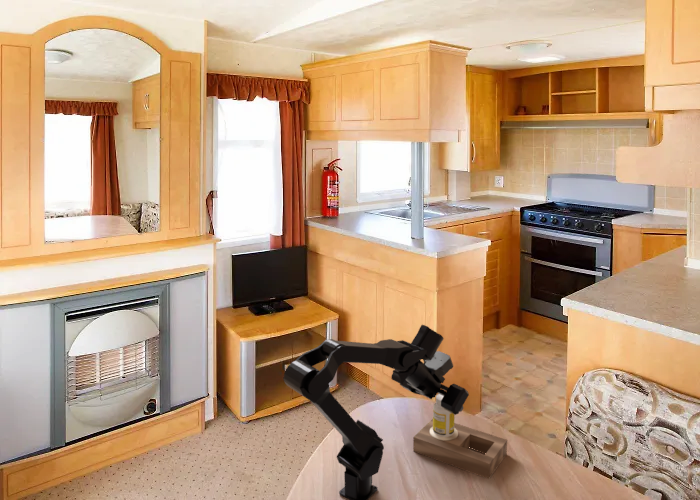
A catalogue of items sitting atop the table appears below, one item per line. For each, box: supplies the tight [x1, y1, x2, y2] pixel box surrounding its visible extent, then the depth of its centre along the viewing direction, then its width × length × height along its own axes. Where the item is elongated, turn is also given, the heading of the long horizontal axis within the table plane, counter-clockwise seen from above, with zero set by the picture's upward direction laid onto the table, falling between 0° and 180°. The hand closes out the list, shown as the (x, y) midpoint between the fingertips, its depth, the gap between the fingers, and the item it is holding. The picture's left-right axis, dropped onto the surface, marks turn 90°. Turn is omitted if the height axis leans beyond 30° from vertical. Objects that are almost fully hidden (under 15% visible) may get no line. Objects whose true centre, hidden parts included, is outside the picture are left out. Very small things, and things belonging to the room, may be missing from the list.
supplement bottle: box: [432, 393, 455, 437], centre depth 135 cm, size 5×5×10 cm
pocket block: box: [412, 418, 508, 480], centre depth 134 cm, size 12×20×4 cm, turn 54°
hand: (448, 402), depth 136 cm, fingers open, 9 cm apart
